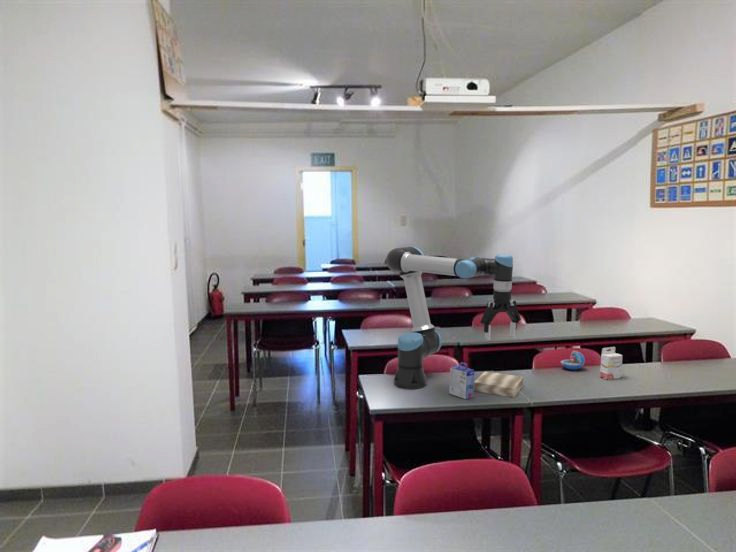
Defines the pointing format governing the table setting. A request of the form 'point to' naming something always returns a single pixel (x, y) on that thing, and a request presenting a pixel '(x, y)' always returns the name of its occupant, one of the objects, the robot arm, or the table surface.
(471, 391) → the ink cartridge box
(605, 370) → the ink cartridge box
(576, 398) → the table surface
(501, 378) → the birch base
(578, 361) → the cell model
